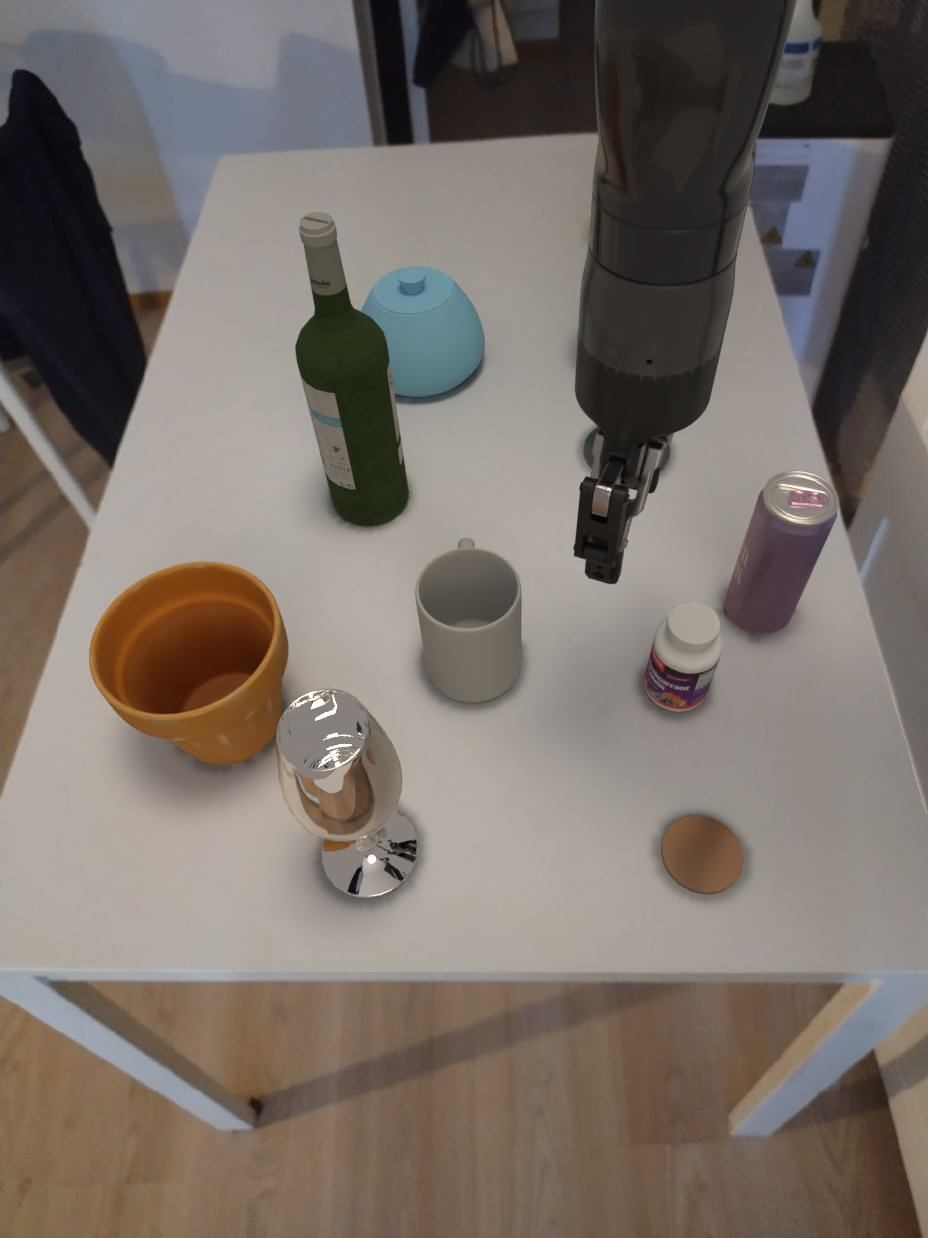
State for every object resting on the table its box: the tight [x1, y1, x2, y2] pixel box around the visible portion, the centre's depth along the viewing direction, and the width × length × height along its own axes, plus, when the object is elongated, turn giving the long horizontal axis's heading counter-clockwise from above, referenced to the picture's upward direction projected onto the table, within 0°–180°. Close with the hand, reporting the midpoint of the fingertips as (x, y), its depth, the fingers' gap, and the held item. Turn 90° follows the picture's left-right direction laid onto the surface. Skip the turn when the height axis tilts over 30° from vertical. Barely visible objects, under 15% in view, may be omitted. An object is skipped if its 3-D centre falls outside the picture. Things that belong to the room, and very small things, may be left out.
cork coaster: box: [661, 815, 744, 894], centre depth 65 cm, size 6×6×1 cm
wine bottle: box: [294, 211, 410, 527], centre depth 76 cm, size 8×8×30 cm
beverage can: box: [723, 470, 840, 635], centre depth 72 cm, size 6×6×15 cm
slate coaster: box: [583, 426, 671, 473], centre depth 90 cm, size 9×9×1 cm
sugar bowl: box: [360, 265, 486, 398], centre depth 96 cm, size 15×15×12 cm
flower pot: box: [88, 561, 289, 766], centre depth 69 cm, size 14×14×13 cm
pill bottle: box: [643, 600, 724, 713], centre depth 70 cm, size 5×5×10 cm
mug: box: [414, 537, 523, 704], centre depth 73 cm, size 12×8×11 cm
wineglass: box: [275, 688, 420, 899], centre depth 59 cm, size 8×8×20 cm
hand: (622, 530), depth 58 cm, fingers open, 8 cm apart
